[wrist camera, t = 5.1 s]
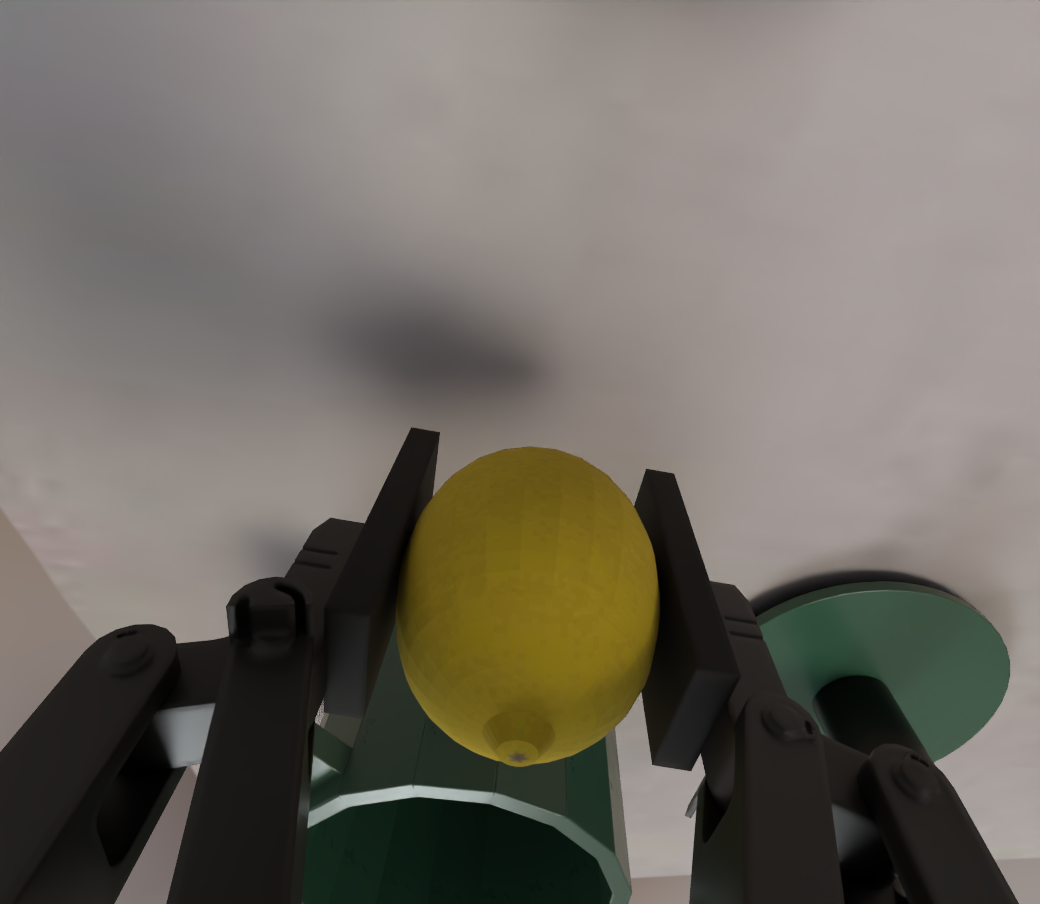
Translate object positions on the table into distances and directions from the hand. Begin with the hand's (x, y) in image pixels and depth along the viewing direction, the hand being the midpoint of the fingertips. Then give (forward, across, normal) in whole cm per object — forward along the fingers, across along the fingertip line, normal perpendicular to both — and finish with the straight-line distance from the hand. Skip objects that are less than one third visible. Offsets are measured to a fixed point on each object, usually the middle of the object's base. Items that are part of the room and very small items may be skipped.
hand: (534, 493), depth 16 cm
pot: (+8, 0, -16) cm, 18 cm away
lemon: (+1, 0, 0) cm, 1 cm away
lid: (+7, +18, -13) cm, 23 cm away
